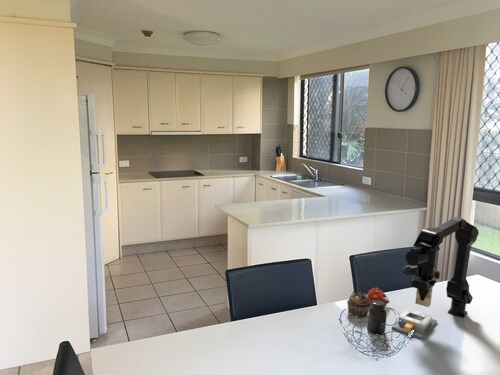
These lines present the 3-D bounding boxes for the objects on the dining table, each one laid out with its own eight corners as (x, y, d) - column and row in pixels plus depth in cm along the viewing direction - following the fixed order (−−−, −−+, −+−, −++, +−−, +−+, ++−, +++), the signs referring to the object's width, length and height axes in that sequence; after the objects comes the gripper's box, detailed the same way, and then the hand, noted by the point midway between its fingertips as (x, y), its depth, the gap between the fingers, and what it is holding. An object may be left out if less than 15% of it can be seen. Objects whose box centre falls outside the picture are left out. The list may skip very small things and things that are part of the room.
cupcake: (374, 315, 181) (376, 293, 179) (358, 321, 176) (360, 298, 174) (357, 306, 189) (358, 285, 187) (341, 311, 183) (343, 290, 182)
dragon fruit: (369, 302, 197) (384, 317, 186) (358, 294, 194) (372, 309, 183) (381, 288, 197) (396, 303, 186) (370, 280, 193) (385, 294, 182)
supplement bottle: (386, 336, 164) (388, 307, 162) (367, 334, 165) (370, 305, 163) (384, 328, 171) (386, 299, 169) (366, 325, 172) (368, 297, 170)
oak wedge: (417, 301, 173) (419, 282, 171) (430, 304, 170) (432, 285, 168) (415, 303, 170) (417, 284, 169) (428, 307, 167) (430, 287, 166)
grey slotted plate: (407, 313, 184) (408, 304, 183) (436, 322, 176) (437, 313, 176) (391, 328, 170) (392, 319, 169) (422, 339, 163) (423, 329, 162)
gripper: (414, 251, 179) (410, 286, 182) (398, 262, 165) (394, 300, 167) (442, 257, 173) (437, 294, 175) (428, 269, 158) (424, 309, 161)
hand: (423, 299), depth 170 cm, fingers closed on oak wedge, 3 cm apart
